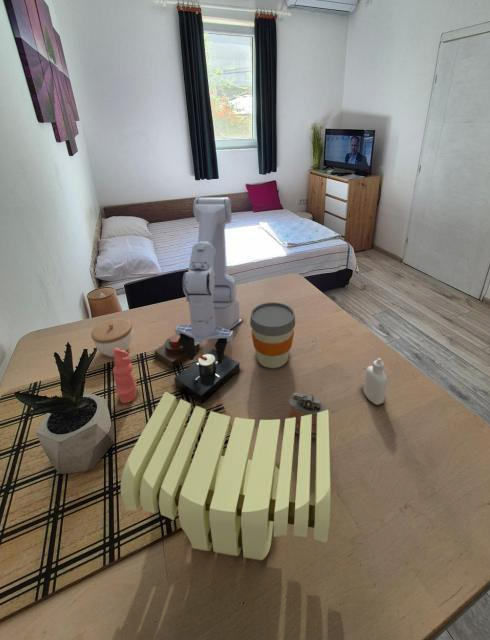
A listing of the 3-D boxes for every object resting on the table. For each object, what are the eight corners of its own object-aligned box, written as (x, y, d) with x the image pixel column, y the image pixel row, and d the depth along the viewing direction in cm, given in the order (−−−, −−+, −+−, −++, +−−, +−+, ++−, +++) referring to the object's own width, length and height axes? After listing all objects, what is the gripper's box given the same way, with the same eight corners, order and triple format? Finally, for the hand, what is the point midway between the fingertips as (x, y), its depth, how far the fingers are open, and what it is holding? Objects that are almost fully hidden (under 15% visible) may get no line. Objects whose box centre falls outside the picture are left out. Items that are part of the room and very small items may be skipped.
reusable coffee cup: (243, 365, 92) (241, 321, 86) (261, 339, 102) (261, 298, 96) (285, 377, 87) (286, 332, 81) (299, 349, 98) (301, 307, 92)
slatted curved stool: (137, 548, 53) (116, 478, 46) (176, 455, 67) (165, 391, 60) (322, 581, 49) (331, 510, 42) (322, 475, 64) (328, 409, 57)
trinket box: (117, 365, 92) (111, 338, 88) (88, 357, 95) (80, 331, 91) (143, 342, 101) (138, 317, 97) (115, 335, 104) (109, 311, 100)
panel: (214, 356, 95) (213, 348, 94) (239, 371, 90) (239, 362, 88) (175, 386, 85) (174, 377, 83) (202, 405, 79) (201, 395, 78)
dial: (219, 367, 87) (218, 356, 85) (208, 378, 83) (207, 366, 82) (206, 362, 89) (205, 350, 87) (195, 372, 85) (194, 360, 84)
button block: (182, 339, 103) (180, 328, 101) (199, 349, 98) (198, 338, 97) (155, 356, 95) (153, 345, 93) (173, 368, 91) (171, 356, 89)
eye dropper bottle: (379, 388, 84) (386, 351, 79) (384, 406, 79) (391, 367, 74) (362, 387, 84) (368, 350, 80) (365, 404, 79) (372, 366, 75)
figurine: (143, 389, 84) (133, 342, 78) (133, 405, 79) (122, 356, 73) (124, 387, 84) (113, 340, 78) (113, 403, 80) (100, 355, 74)
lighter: (325, 428, 73) (328, 395, 69) (322, 441, 70) (325, 407, 66) (290, 418, 76) (291, 386, 72) (286, 430, 73) (287, 397, 69)
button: (177, 337, 98) (176, 332, 97) (185, 342, 96) (184, 337, 95) (167, 343, 95) (166, 339, 94) (175, 348, 93) (174, 343, 92)
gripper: (166, 321, 77) (173, 366, 82) (225, 328, 74) (228, 373, 80) (179, 305, 83) (185, 348, 88) (234, 311, 81) (236, 354, 86)
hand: (206, 359), depth 84 cm, fingers open, 7 cm apart
